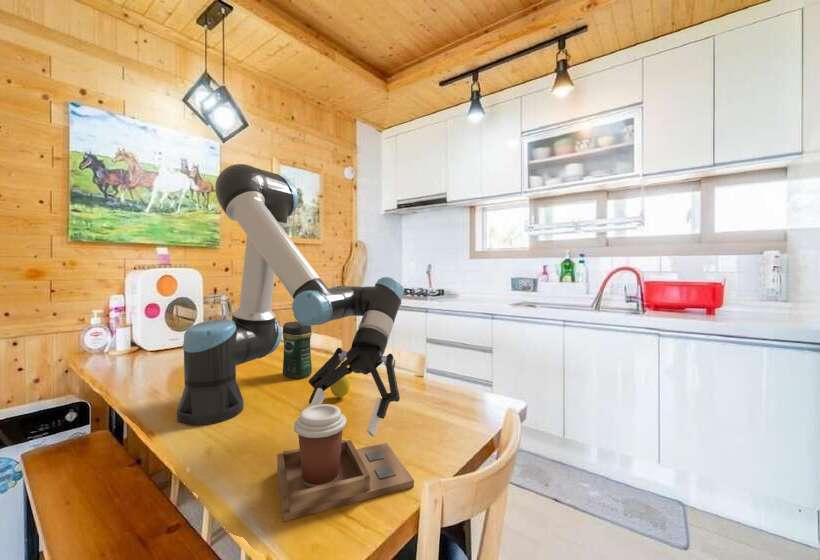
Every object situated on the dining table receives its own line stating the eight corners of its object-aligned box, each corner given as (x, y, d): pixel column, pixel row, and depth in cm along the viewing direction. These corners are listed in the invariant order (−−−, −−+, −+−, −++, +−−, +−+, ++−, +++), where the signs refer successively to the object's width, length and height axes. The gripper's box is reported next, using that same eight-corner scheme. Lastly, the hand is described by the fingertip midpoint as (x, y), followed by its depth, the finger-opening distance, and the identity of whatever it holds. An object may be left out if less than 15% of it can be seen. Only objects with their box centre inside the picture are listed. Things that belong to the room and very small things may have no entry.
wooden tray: (283, 522, 54) (283, 498, 54) (277, 471, 67) (277, 452, 67) (413, 486, 63) (414, 466, 63) (386, 448, 76) (386, 431, 76)
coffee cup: (300, 463, 68) (299, 402, 67) (348, 461, 69) (348, 401, 68) (288, 495, 59) (287, 424, 58) (344, 492, 60) (344, 422, 59)
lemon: (345, 402, 100) (345, 374, 99) (327, 401, 101) (327, 373, 101) (352, 395, 105) (352, 369, 105) (335, 394, 106) (335, 367, 106)
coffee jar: (315, 374, 124) (315, 321, 123) (297, 381, 117) (297, 325, 116) (297, 369, 129) (296, 319, 128) (278, 375, 123) (278, 322, 121)
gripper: (427, 349, 80) (403, 446, 67) (331, 339, 89) (293, 423, 76) (421, 330, 75) (393, 432, 62) (319, 321, 83) (276, 409, 70)
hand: (338, 427), depth 69 cm, fingers open, 13 cm apart
